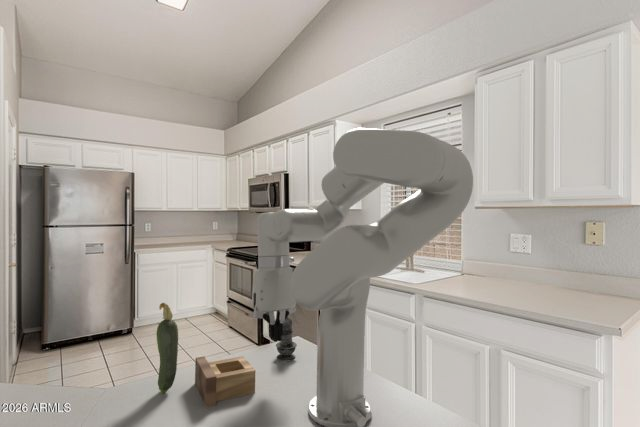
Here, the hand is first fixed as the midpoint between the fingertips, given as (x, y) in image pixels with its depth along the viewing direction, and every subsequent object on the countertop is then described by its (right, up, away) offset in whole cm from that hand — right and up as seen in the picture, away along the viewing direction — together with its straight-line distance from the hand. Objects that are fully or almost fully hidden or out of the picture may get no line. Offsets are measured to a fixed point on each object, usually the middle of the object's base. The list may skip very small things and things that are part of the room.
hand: (275, 339), depth 85 cm
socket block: (-10, -10, -4) cm, 15 cm away
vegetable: (-23, -10, -7) cm, 26 cm away
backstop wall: (-15, -10, -7) cm, 19 cm away
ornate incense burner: (+1, -10, +15) cm, 18 cm away
